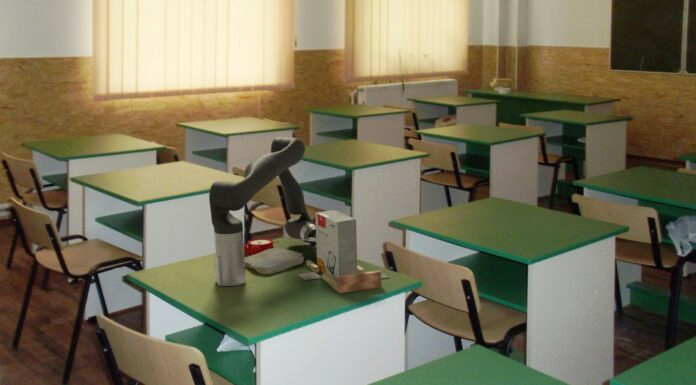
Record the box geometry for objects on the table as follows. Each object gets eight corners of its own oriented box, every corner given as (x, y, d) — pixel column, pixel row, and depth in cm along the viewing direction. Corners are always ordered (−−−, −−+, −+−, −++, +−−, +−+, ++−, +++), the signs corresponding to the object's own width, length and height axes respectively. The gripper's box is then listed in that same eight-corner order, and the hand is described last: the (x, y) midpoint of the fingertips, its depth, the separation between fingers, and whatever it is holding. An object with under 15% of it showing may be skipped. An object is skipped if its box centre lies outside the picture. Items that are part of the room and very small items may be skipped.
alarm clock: (282, 240, 305) (254, 240, 293) (280, 257, 305) (252, 257, 293) (261, 236, 311) (233, 236, 299) (260, 253, 311) (231, 253, 299)
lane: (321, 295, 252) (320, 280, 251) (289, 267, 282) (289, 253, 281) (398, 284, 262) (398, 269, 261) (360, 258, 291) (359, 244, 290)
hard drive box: (316, 269, 279) (314, 212, 275) (336, 266, 283) (334, 209, 279) (338, 281, 266) (336, 221, 262) (358, 277, 270) (357, 218, 266)
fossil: (232, 270, 286) (264, 276, 274) (231, 257, 285) (263, 263, 273) (275, 259, 300) (308, 265, 288) (274, 247, 299) (307, 252, 287)
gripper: (295, 227, 293) (311, 238, 277) (330, 223, 298) (348, 234, 282) (296, 248, 295) (312, 260, 279) (331, 243, 300) (348, 255, 284)
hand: (330, 247), depth 281 cm, fingers closed
